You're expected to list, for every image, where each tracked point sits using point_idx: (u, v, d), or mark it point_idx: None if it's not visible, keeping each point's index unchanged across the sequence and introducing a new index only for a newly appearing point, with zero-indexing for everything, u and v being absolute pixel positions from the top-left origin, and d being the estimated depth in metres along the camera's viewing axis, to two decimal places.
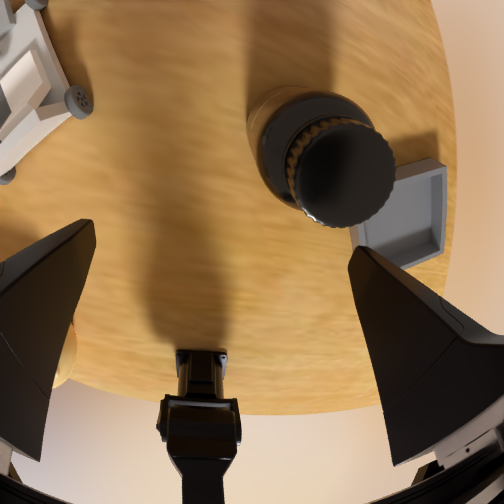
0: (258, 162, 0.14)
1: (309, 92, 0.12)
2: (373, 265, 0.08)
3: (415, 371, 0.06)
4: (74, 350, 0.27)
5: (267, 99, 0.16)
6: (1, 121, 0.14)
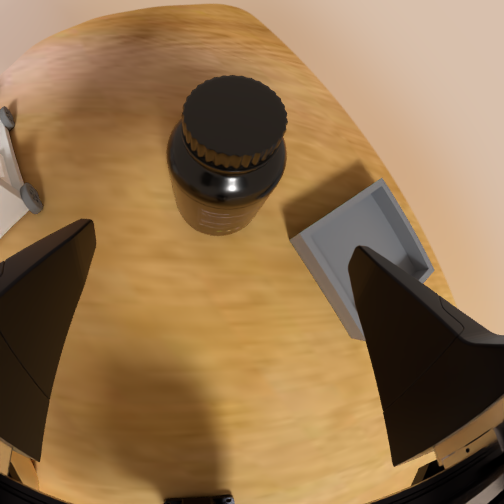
0: (169, 166, 0.14)
1: None
2: (373, 265, 0.08)
3: (415, 371, 0.06)
4: (31, 486, 0.12)
5: None
6: None
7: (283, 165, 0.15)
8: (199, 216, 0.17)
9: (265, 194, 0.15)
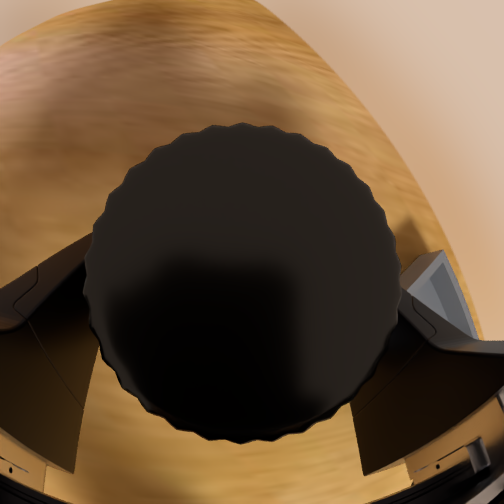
0: None
1: None
2: None
3: (383, 377, 0.06)
4: None
5: None
6: None
7: None
8: None
9: None
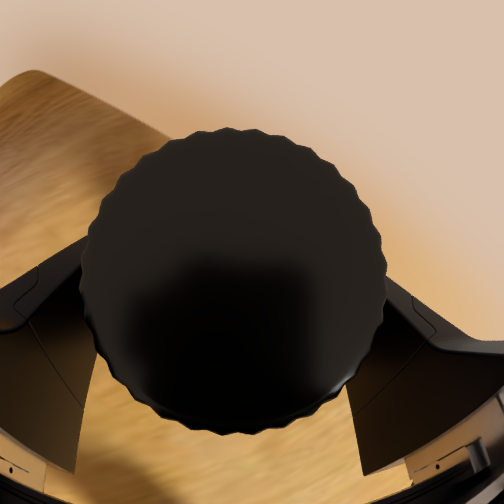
0: None
1: None
2: None
3: (383, 377, 0.06)
4: None
5: None
6: None
7: None
8: None
9: None
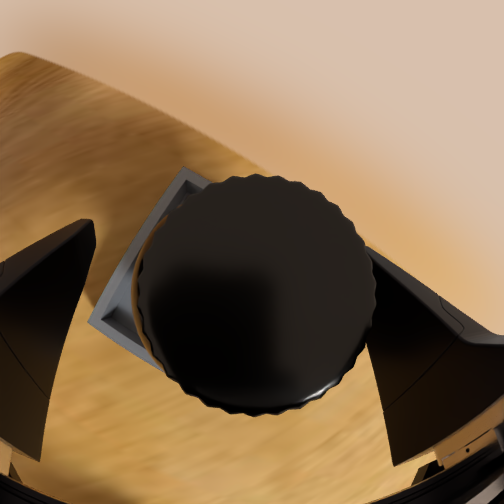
0: (139, 335, 0.08)
1: None
2: (373, 265, 0.08)
3: (415, 371, 0.06)
4: None
5: None
6: None
7: None
8: None
9: None
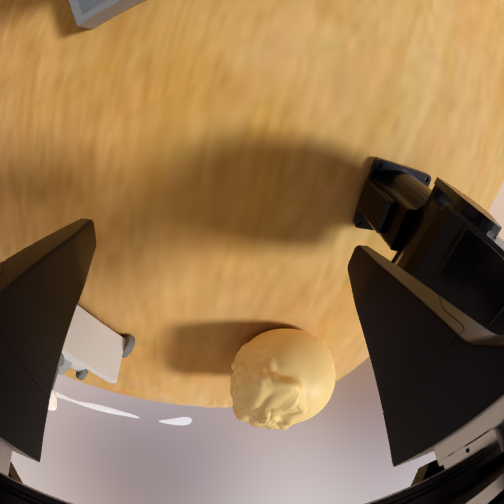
0: None
1: None
2: (373, 265, 0.08)
3: (415, 371, 0.06)
4: (301, 345, 0.28)
5: None
6: None
7: None
8: None
9: None
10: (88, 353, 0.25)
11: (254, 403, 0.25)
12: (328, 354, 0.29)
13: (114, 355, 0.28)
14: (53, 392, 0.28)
